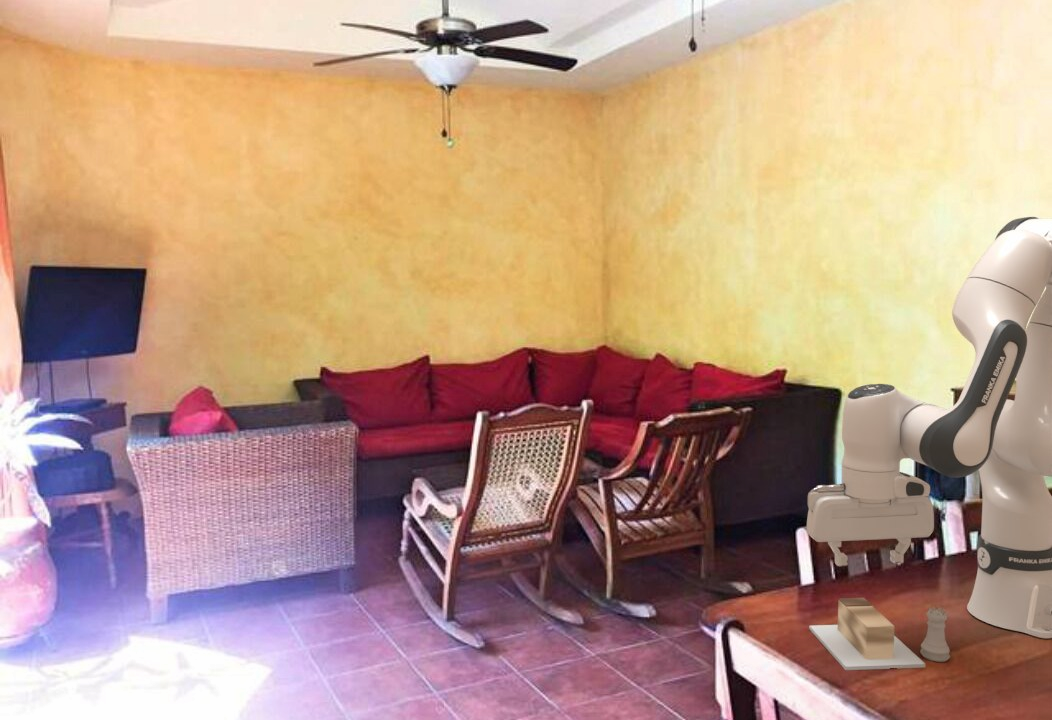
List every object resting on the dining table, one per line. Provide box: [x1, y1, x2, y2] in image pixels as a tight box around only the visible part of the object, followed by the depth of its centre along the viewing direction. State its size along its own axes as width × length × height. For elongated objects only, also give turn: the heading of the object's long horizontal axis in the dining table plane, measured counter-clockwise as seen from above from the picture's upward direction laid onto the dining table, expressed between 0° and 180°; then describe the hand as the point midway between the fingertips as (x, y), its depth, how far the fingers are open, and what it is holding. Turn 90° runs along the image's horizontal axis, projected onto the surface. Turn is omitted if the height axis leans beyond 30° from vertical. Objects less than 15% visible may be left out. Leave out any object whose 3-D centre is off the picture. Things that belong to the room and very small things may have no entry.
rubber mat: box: [808, 624, 926, 671], centre depth 139 cm, size 13×15×1 cm
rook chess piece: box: [919, 606, 951, 663], centre depth 135 cm, size 4×4×8 cm
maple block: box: [837, 597, 896, 660], centre depth 138 cm, size 11×4×6 cm, turn 2°
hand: (868, 563), depth 137 cm, fingers open, 8 cm apart
